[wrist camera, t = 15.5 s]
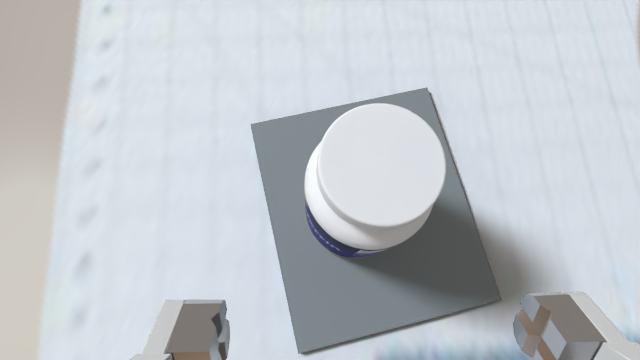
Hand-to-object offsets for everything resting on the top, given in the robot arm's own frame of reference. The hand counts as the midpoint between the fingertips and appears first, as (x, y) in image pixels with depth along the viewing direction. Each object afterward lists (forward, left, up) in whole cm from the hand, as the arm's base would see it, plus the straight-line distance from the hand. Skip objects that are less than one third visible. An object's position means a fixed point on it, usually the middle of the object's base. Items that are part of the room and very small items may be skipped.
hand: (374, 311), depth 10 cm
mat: (+5, -3, -12) cm, 13 cm away
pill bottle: (+5, -2, -12) cm, 13 cm away
